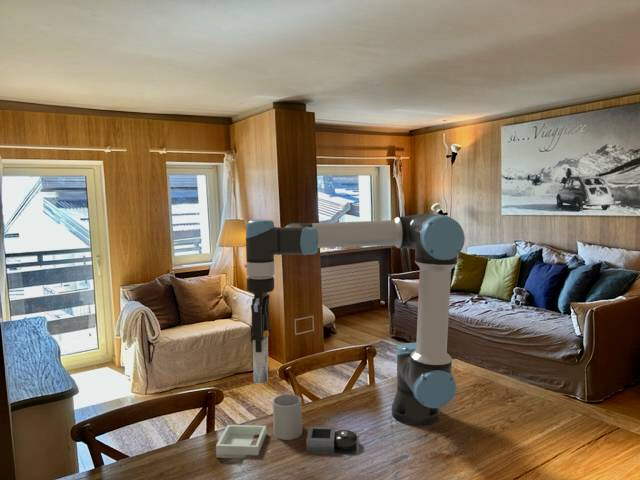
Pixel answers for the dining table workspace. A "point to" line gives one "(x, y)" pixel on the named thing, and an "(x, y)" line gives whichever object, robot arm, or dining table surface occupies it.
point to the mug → (287, 417)
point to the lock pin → (261, 368)
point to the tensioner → (331, 441)
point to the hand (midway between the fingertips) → (261, 359)
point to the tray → (240, 441)
